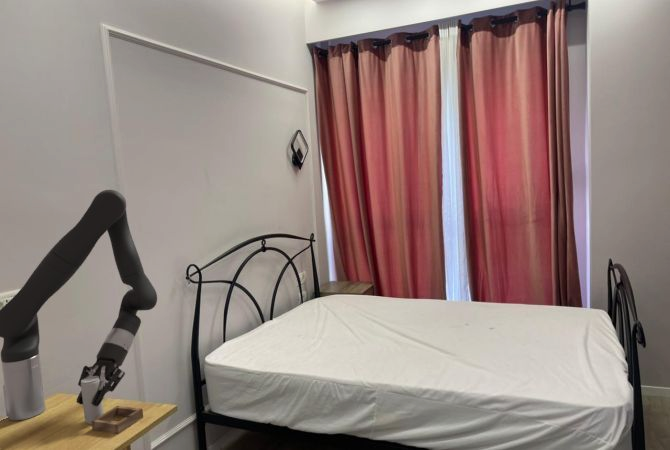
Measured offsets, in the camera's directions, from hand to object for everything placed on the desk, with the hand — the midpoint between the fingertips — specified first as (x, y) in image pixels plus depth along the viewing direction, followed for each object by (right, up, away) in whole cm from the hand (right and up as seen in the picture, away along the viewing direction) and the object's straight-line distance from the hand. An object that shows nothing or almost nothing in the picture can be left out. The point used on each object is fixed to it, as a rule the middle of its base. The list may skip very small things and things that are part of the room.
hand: (87, 404), depth 128 cm
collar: (+9, -5, -1) cm, 10 cm away
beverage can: (+1, -6, +2) cm, 6 cm away
